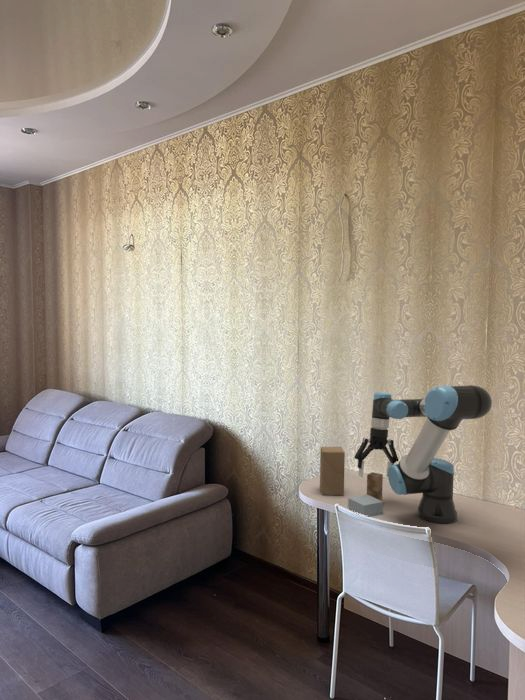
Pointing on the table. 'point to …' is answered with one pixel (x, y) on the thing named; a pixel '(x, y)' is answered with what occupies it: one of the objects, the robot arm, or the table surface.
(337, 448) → the wooden block
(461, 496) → the table surface
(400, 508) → the table surface
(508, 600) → the table surface
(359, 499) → the grey base block
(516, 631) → the table surface
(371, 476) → the walnut block
